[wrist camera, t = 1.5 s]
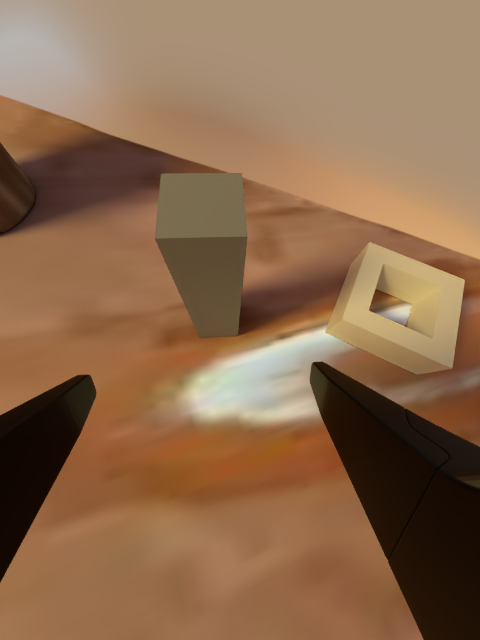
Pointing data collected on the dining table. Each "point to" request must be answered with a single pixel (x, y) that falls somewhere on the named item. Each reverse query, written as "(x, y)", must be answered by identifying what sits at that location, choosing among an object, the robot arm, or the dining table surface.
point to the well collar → (424, 319)
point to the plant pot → (13, 192)
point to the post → (205, 246)
